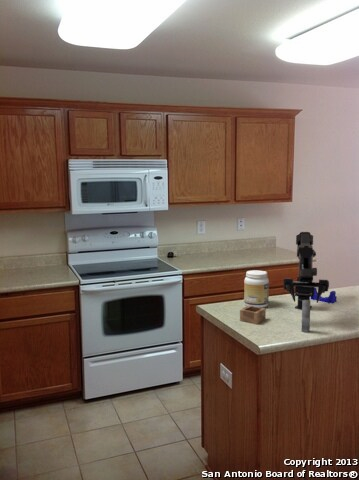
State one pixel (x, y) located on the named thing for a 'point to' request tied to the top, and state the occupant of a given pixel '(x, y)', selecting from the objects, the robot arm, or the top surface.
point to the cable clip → (330, 299)
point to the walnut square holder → (252, 314)
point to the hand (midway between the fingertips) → (305, 301)
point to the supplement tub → (256, 289)
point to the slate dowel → (306, 316)
